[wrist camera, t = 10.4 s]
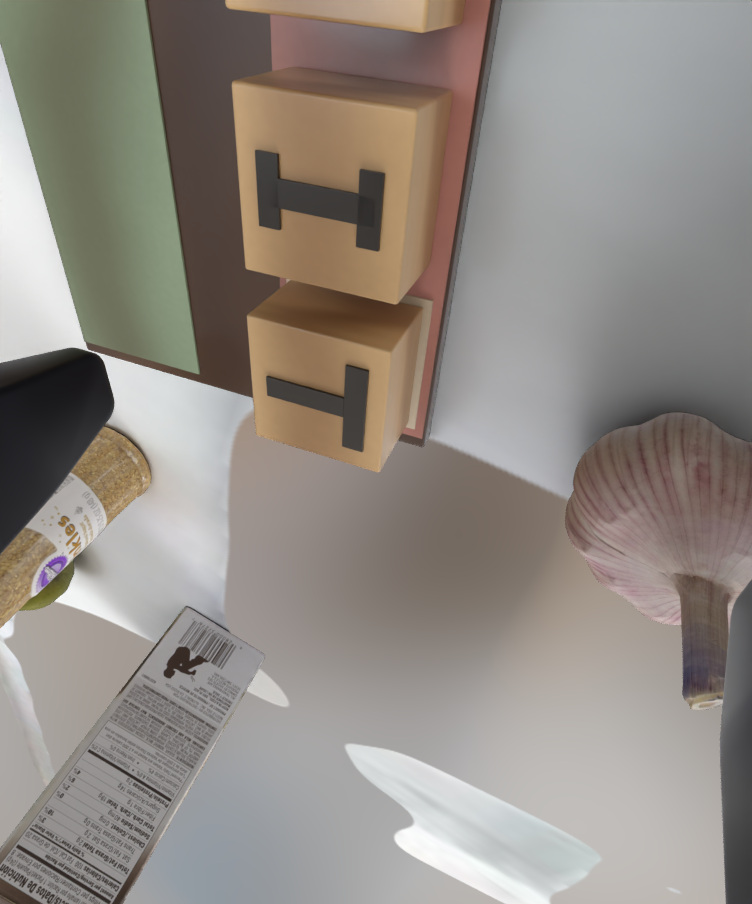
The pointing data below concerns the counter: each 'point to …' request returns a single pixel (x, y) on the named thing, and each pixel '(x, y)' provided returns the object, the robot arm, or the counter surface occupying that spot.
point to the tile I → (339, 178)
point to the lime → (51, 589)
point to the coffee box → (129, 771)
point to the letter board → (208, 165)
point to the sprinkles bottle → (72, 518)
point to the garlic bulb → (671, 532)
